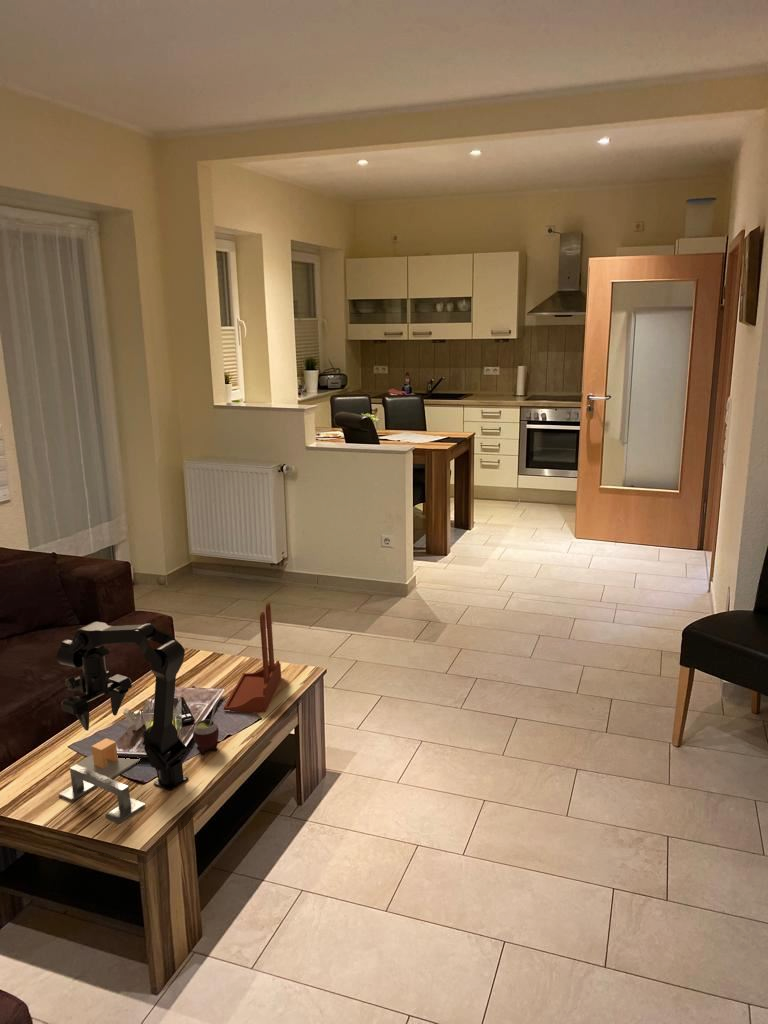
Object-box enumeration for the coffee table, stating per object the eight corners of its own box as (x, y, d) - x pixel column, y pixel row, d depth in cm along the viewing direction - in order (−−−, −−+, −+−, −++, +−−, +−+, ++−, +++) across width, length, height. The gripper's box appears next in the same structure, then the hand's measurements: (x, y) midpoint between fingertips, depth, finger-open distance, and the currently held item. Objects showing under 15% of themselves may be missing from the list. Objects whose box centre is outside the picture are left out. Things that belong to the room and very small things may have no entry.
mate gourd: (190, 754, 216) (185, 705, 213) (203, 740, 224) (199, 692, 220) (214, 757, 214) (210, 708, 211) (227, 743, 222) (223, 695, 218)
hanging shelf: (243, 677, 263) (237, 594, 256) (281, 678, 262) (276, 594, 255) (224, 712, 240) (216, 621, 233) (265, 712, 239) (259, 622, 232)
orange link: (118, 760, 213) (115, 741, 212) (103, 768, 209) (101, 749, 208) (108, 756, 215) (106, 738, 214) (94, 764, 211) (91, 746, 210)
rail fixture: (145, 806, 193) (142, 781, 192) (119, 824, 187) (116, 798, 185) (85, 780, 205) (82, 757, 204) (59, 796, 199) (55, 772, 197)
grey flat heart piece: (140, 723, 234) (137, 699, 232) (145, 724, 234) (142, 700, 232) (125, 735, 228) (122, 710, 226) (130, 736, 227) (127, 711, 225)
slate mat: (141, 760, 214) (140, 759, 214) (105, 782, 204) (105, 780, 204) (107, 747, 221) (107, 745, 221) (71, 768, 211) (71, 766, 211)
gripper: (103, 650, 218) (109, 701, 221) (44, 676, 202) (52, 730, 206) (130, 658, 212) (135, 710, 216) (71, 686, 197) (78, 741, 200)
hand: (100, 722), depth 210 cm, fingers open, 9 cm apart
